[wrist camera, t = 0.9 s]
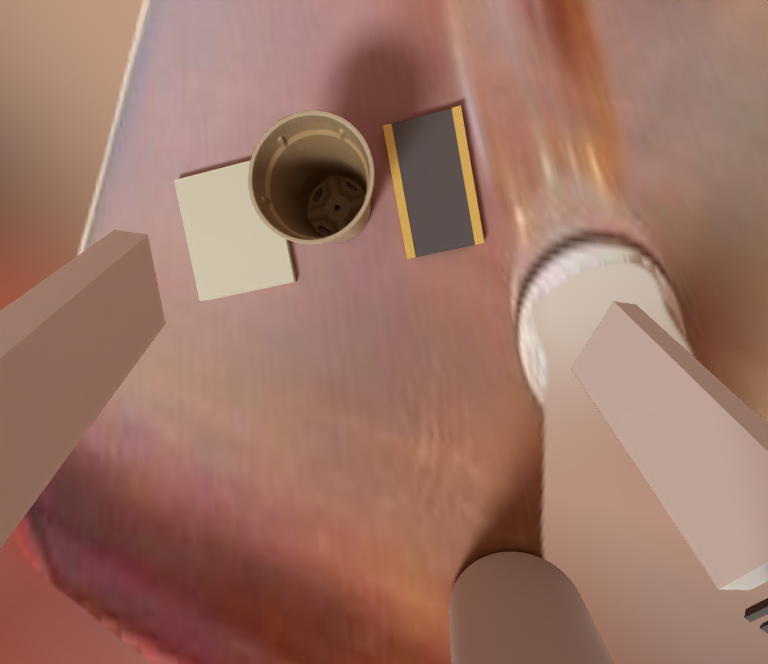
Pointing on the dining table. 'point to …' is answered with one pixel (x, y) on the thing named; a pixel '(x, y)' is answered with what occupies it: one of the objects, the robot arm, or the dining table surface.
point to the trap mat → (433, 183)
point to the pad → (230, 235)
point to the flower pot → (312, 178)
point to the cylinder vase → (520, 615)
